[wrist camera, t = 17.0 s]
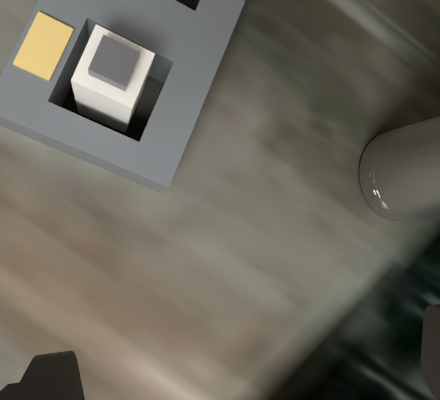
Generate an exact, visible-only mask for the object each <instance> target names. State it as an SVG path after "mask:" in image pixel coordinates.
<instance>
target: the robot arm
mask: <svg viewBox="0 0 440 400" xmlns="http://www.w3.org/2000/svg"><path fill="white" fill-rule="evenodd" d="M359 177H360V185H361V188H362V192H363V194H364V196H365V198H366V200H367V202H368V203H369V204H370V206H371V207H372V208H373V209H374V210H375V211H376V212H377V213H378V214H380V215H382V216H384V217H386V218H389V219H392V220H420V221H440V116H439V117H435V118H432V119H429V120H425V121H422V122H418V123H414V124H411V125H408V126H404V127H401V128H398V129H394V130H391V131H387V132H385V133H382V134H380V135H378V136H377V137H375V138H374V139H373V140H372V141H371V142H370V143H369V144H368V146H367V147H366V149H365V151H364V153H363V155H362V158H361V162H360V169H359ZM421 369H422V373H423V377H424V380H425V382H426V384H427V386H428V388H429V389H430V391H431V392H432V393H433V395H434V396H435V397H436V398H437V399H438V400H440V304H437V305H430V306H428V307H427V308H426V310H425V312H424V321H423V337H422V352H421ZM0 400H85V398H84V393H83V388H82V383H81V378H80V373H79V368H78V363H77V358H76V355H75V353H74V352H73V351H65V352H58V353H50V354H42V355H36V356H35V357H34V358H33V359H32V361H31V363H30V364H29V366H28V368H27V370H26V372H25V373H24V375H23V377H22V379H21V381H20V382H19V383H13V384H8V385H7V386H5V387H4V388H3V389H2V390H1V391H0Z"/></svg>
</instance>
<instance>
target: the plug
mask: <svg viewBox="0 0 440 400" xmlns="http://www.w3.org/2000/svg"><path fill="white" fill-rule="evenodd" d="M154 56H155V53H153V52H151V51H149V50H147V49H145V48H143V47H141V46H139V45H137V44H135V43H133V42H131V41H129V40H127V39H125V38H123V37H121V36H119V35H117V34H115V33H113V32H111V31H109V30H107V29H105V28H103V27H101V26H99V25H95V28H94V30H93V32H92V34H91V36H90V39H89V41H88V43H87V45H86V48H85V50H84V52H83V54H82V56H81V59H80V61H79V63H78V65H77V68H76V70H75V72H74V74H73V77H72V79H71V83H72V88H73V92H74V96H75V101H76V105H77V109H78V113H80V114H82V115H85V116H87V117H89V118H91V119H94V120H96V121H98V122H101V123H103V124H105V125H108V126H110V127H112V128H115V129H117V130H119V131H122V132H124V133H126V130H127V128H128V126H129V123H130V121H131V119H132V116H133V114H134V111H135V109H136V107H137V104H138V102H139V99H140V97H141V95H142V92H143V90H144V87H145V83H146V80H147V77H148V74H149V71H150V68H151V65H152V62H153V59H154Z"/></svg>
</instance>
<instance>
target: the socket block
mask: <svg viewBox="0 0 440 400" xmlns="http://www.w3.org/2000/svg"><path fill="white" fill-rule="evenodd" d="M244 3H245V0H199V3H198V5H197V7H196V10H195V11H194V10H192V9H190V8H189V7H187V6H185V5H183V4H181V3H180V2H178V1H176V0H38V2H37V4H36V6H35V8H34V10H33V12H32V14H31V16H30V18H29V20H28V22H27V24H26V26H25V28H24V30H23V32H22V34H21V36H20V38H19V40H18V42H17V44H16V46H15V48H14V50H13V52H12V54H11V56H10V58H9V60H8V62H7V64H6V66H5V68H4V70H3V72H2V74H1V76H0V124H1V125H2V126H3V127H6V128H8V129H11V130H13V131H15V132H18V133H20V134H23V135H25V136H27V137H30V138H32V139H35V140H37V141H39V142H42V143H44V144H47V145H49V146H51V147H54V148H56V149H58V150H61V151H63V152H66V153H68V154H70V155H73V156H75V157H78V158H80V159H82V160H85V161H87V162H90V163H92V164H94V165H97V166H99V167H102V168H104V169H106V170H109V171H111V172H113V173H116V174H118V175H121V176H123V177H125V178H128V179H130V180H133V181H135V182H137V183H140V184H142V185H145V186H147V187H149V188H152V189H154V190H157V191H159V192H160V191H162V190H165V189H167V188H169V186H170V184H171V182H172V179H173V177H174V174H175V172H176V169H177V167H178V164H179V162H180V160H181V157H182V155H183V152H184V150H185V147H186V145H187V142H188V140H189V138H190V135H191V133H192V130H193V128H194V125H195V123H196V120H197V118H198V115H199V113H200V111H201V108H202V106H203V103H204V101H205V98H206V96H207V93H208V91H209V89H210V86H211V84H212V81H213V79H214V76H215V74H216V71H217V69H218V67H219V64H220V62H221V59H222V57H223V54H224V52H225V49H226V47H227V45H228V42H229V40H230V37H231V35H232V32H233V30H234V27H235V25H236V22H237V20H238V18H239V15H240V13H241V10H242V8H243V5H244ZM95 25H99V26H101V27H103V28H105V29H107V30H109V31H111V32H113V33H115V34H117V35H119V36H121V37H123V38H125V39H127V40H129V41H131V42H133V43H135V44H137V45H139V46H141V47H143V48H145V49H147V50H149V51H151V52H153V53H155V56H154V59H153V62H152V65H151V68H150V71H149V74H148V76H149V77H151V78H153V79H155V80H157V81H159V82H161V83H163V87H162V89H161V91H160V94H159V96H158V98H157V101H156V103H155V105H154V108H153V110H152V112H151V115H150V117H149V119H148V122H147V124H146V126H145V129H144V131H143V133H142V136H141V138H140V140H139V142H138V141H136V140H134V139H131V138H129V137H127V136H125V135H122V134H120V133H118V132H116V131H113V130H111V129H109V128H107V127H104V126H102V125H100V124H98V123H95V122H93V121H91V120H89V119H86V118H84V117H82V116H80V115H77V114H75V113H73V112H71V111H68V110H66V109H64V108H62V105H63V103H64V101H65V98H66V96H67V94H68V92H69V90H70V88H71V86H72V83H71V79H72V77H73V74H74V72H75V70H76V68H77V65H78V63H79V61H80V59H81V56H82V54H83V52H84V50H85V48H86V45H87V43H88V41H89V39H90V36H91V34H92V32H93V30H94V28H95Z"/></svg>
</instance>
